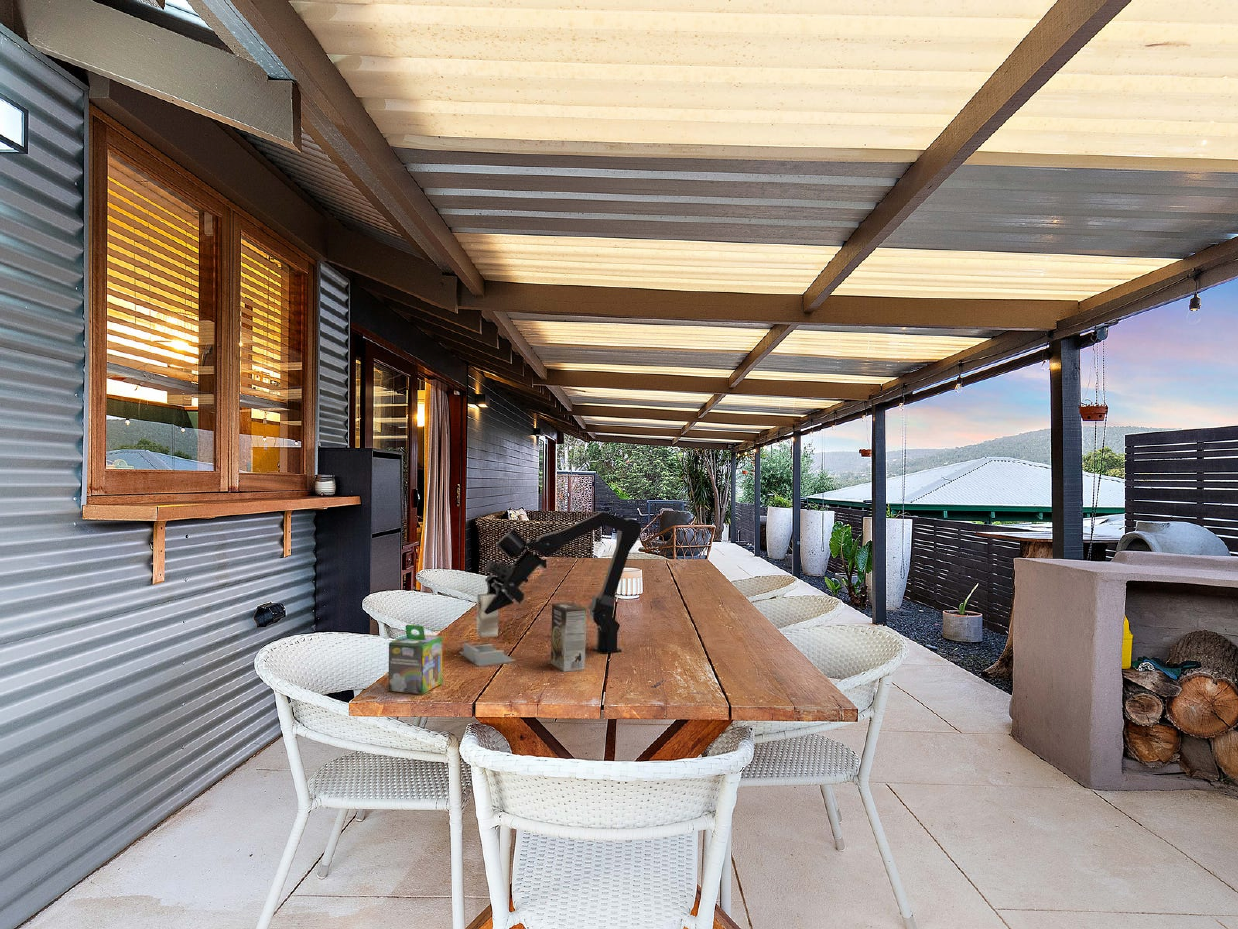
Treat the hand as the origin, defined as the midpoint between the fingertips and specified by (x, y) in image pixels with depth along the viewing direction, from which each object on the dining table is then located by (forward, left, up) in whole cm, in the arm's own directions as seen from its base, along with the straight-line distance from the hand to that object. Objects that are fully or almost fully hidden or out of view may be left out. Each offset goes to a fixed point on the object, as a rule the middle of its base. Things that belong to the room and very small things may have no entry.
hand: (482, 611), depth 186 cm
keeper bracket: (0, -1, -13) cm, 13 cm away
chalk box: (-19, +23, -13) cm, 32 cm away
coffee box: (-19, -17, -13) cm, 28 cm away
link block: (0, -1, -7) cm, 7 cm away
